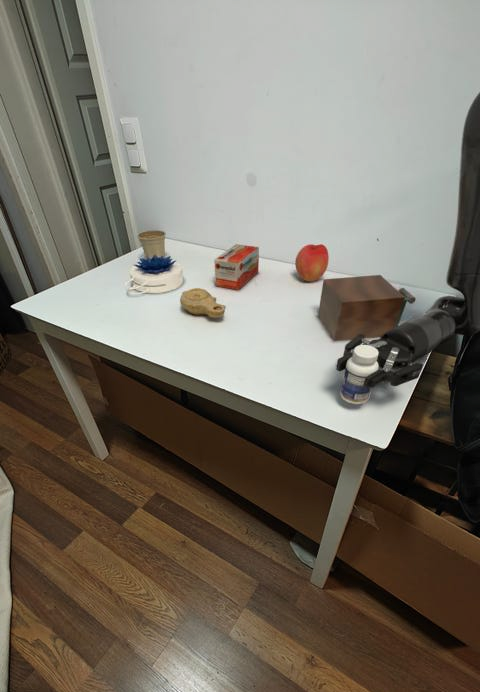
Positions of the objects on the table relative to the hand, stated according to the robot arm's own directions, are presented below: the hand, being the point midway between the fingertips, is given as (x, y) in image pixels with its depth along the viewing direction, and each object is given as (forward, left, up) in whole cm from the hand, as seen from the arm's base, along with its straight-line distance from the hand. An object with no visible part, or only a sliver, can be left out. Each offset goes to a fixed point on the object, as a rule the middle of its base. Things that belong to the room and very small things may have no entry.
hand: (351, 374), depth 59 cm
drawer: (-7, -34, -7) cm, 35 cm away
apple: (+8, -59, -8) cm, 60 cm away
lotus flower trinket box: (+55, -48, -8) cm, 74 cm away
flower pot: (+61, -67, -8) cm, 91 cm away
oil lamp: (+35, -33, -8) cm, 49 cm away
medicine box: (+31, -56, -8) cm, 64 cm away
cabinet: (-4, -32, -8) cm, 34 cm away
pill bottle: (-2, -2, -6) cm, 7 cm away
